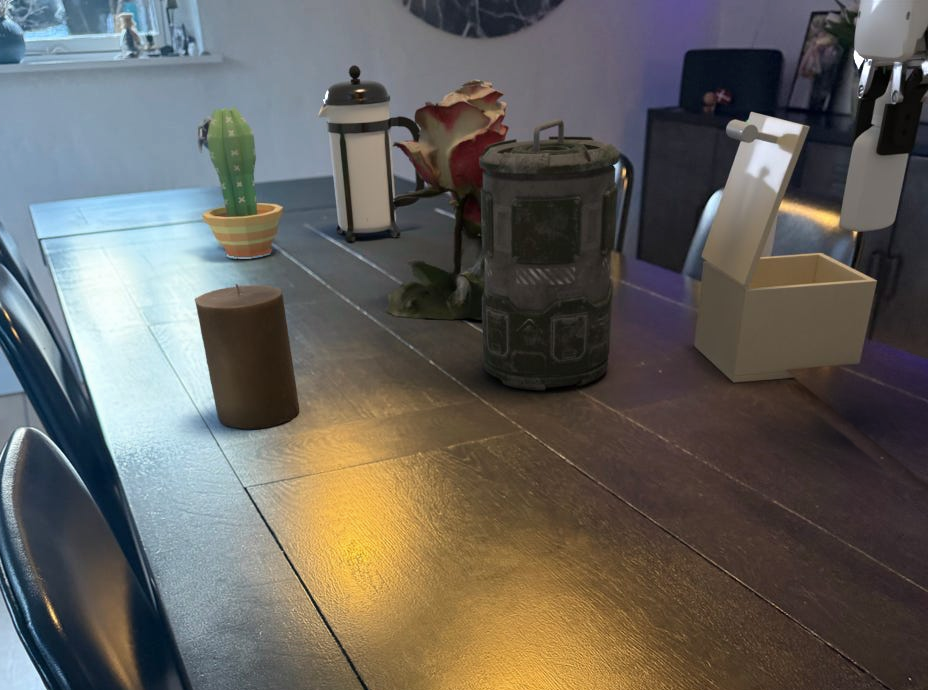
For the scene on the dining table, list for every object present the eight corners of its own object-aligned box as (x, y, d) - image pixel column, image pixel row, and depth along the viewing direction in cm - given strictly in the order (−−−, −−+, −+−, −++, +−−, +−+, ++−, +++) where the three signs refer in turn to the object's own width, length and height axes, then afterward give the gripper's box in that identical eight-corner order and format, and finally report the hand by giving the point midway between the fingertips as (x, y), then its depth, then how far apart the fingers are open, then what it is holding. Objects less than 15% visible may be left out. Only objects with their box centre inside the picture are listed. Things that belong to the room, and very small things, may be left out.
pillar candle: (301, 425, 107) (282, 290, 98) (215, 433, 106) (188, 298, 97) (298, 396, 115) (280, 269, 106) (218, 404, 113) (194, 276, 105)
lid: (756, 113, 109) (718, 103, 108) (810, 126, 97) (767, 115, 96) (706, 258, 118) (670, 250, 116) (749, 286, 106) (709, 278, 104)
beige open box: (806, 337, 125) (821, 252, 119) (857, 372, 113) (877, 280, 107) (694, 346, 124) (703, 261, 118) (733, 382, 112) (745, 290, 106)
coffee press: (380, 246, 183) (366, 68, 166) (317, 239, 190) (298, 68, 173) (429, 229, 194) (420, 61, 177) (368, 223, 202) (354, 61, 185)
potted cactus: (261, 242, 191) (240, 102, 176) (304, 252, 181) (286, 105, 167) (194, 256, 182) (167, 111, 168) (236, 267, 173) (211, 114, 159)
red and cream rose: (560, 327, 133) (566, 85, 116) (374, 317, 142) (354, 90, 125) (596, 282, 153) (605, 69, 136) (430, 276, 162) (419, 75, 145)
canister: (512, 346, 127) (511, 113, 111) (624, 358, 121) (640, 113, 105) (463, 384, 115) (453, 130, 99) (584, 399, 109) (595, 131, 93)
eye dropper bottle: (828, 223, 90) (852, 80, 83) (887, 220, 90) (916, 76, 83) (844, 233, 87) (871, 84, 80) (905, 230, 87) (937, 80, 80)
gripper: (1040, -119, 68) (973, 160, 78) (918, -100, 81) (874, 136, 92) (942, -113, 67) (887, 167, 78) (836, -94, 81) (801, 142, 91)
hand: (881, 148), depth 85 cm, fingers closed on eye dropper bottle, 4 cm apart
